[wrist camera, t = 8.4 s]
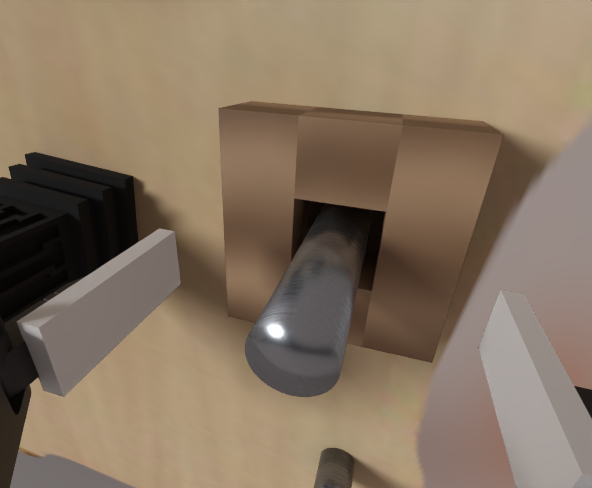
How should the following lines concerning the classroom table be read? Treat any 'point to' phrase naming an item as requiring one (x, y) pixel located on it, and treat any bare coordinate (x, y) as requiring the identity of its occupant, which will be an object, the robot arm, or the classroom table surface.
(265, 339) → the long pin
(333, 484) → the short pin
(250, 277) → the hole block
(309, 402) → the classroom table surface
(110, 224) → the chess piece
